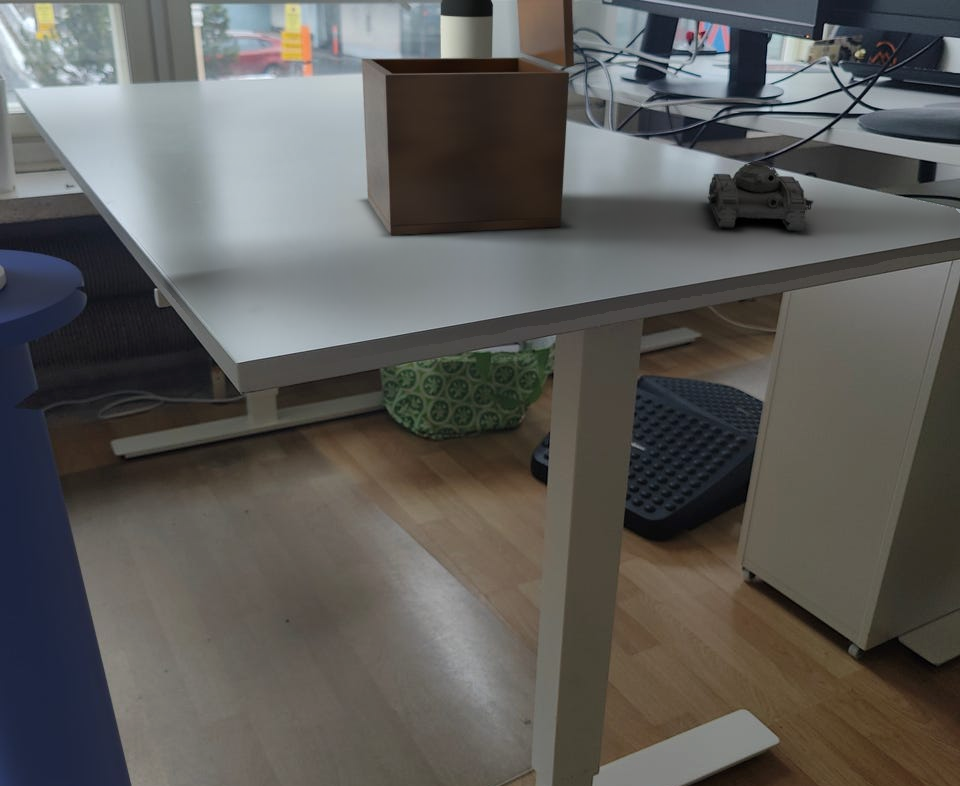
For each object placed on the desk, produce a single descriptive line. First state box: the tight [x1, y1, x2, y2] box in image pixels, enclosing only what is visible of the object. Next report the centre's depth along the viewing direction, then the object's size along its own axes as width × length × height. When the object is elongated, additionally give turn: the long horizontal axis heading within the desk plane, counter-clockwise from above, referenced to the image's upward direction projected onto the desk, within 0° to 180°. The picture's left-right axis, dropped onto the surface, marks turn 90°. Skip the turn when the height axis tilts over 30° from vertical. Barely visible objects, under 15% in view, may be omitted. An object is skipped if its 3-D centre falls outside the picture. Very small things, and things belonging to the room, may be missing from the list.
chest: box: [361, 56, 570, 236], centre depth 87 cm, size 16×14×13 cm
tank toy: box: [707, 160, 814, 232], centre depth 89 cm, size 12×10×5 cm
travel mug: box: [440, 0, 494, 58], centre depth 147 cm, size 8×8×18 cm
